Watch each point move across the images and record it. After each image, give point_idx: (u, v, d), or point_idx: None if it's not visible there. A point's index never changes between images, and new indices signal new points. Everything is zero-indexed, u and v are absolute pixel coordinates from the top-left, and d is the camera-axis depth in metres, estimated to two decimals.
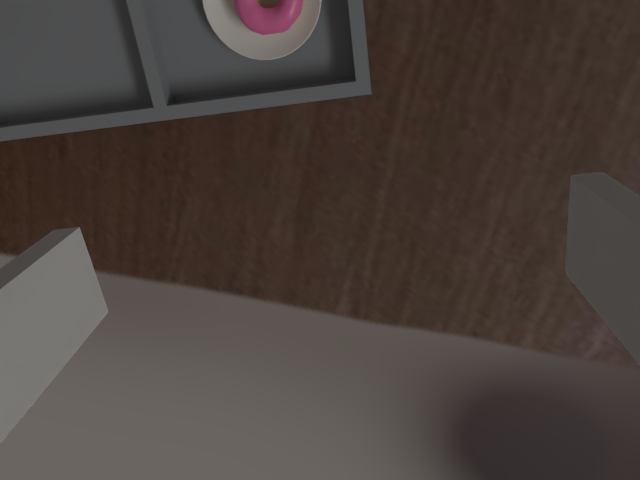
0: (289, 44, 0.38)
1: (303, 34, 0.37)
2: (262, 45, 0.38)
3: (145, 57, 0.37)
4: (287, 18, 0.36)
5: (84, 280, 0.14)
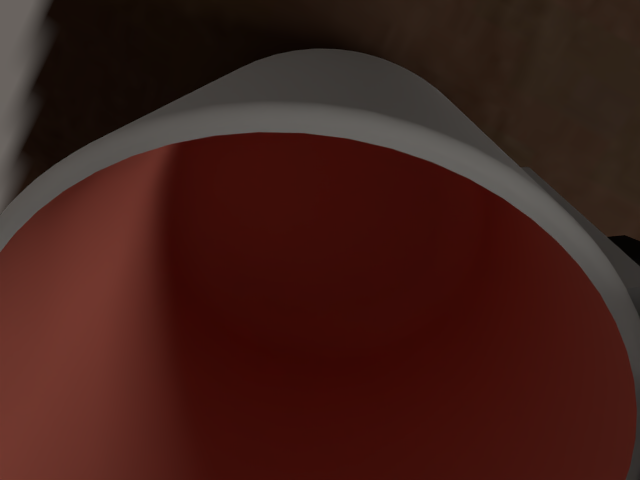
0: None
1: None
2: None
3: None
4: None
5: None
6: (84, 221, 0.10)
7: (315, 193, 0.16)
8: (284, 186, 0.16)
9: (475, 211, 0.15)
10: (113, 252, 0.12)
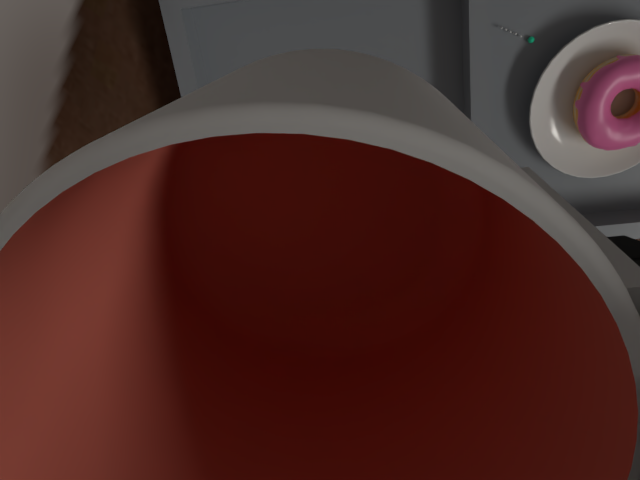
0: (628, 155, 0.29)
1: None
2: (592, 159, 0.29)
3: None
4: None
5: None
6: (83, 222, 0.10)
7: (315, 193, 0.16)
8: (284, 186, 0.16)
9: (475, 211, 0.15)
10: (112, 253, 0.12)
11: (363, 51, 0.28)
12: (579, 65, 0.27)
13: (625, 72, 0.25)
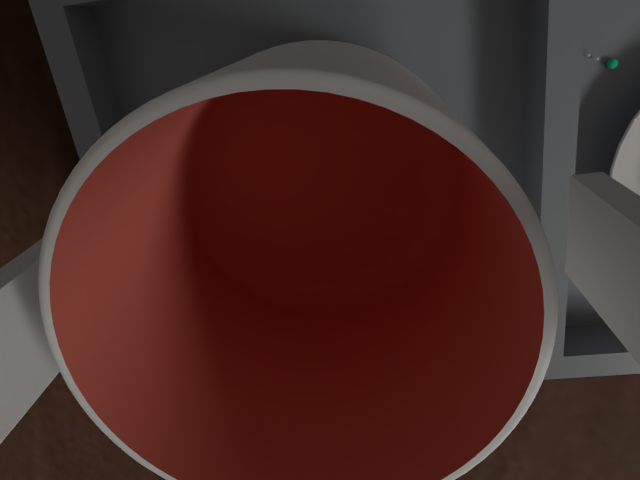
0: None
1: None
2: None
3: None
4: None
5: None
6: (129, 176, 0.12)
7: (313, 166, 0.19)
8: (286, 160, 0.19)
9: (450, 177, 0.18)
10: (146, 209, 0.15)
11: None
12: None
13: None
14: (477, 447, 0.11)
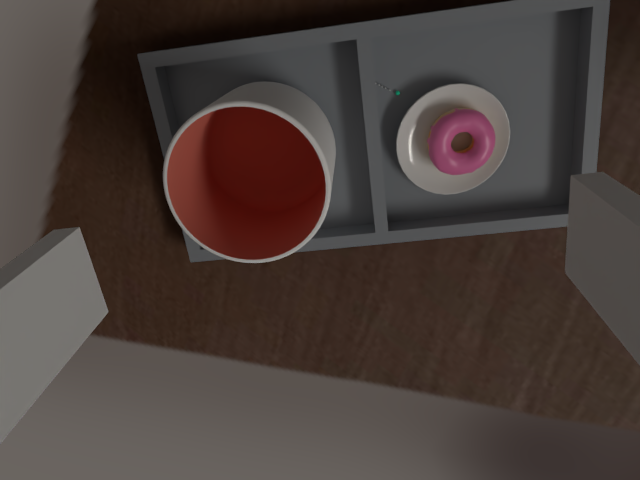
0: (472, 179, 0.40)
1: (487, 170, 0.39)
2: (446, 181, 0.40)
3: (375, 189, 0.38)
4: (480, 162, 0.37)
5: (84, 280, 0.14)
6: (188, 136, 0.33)
7: (266, 138, 0.39)
8: (253, 135, 0.39)
9: None
10: (191, 153, 0.35)
11: None
12: (431, 112, 0.37)
13: (457, 121, 0.36)
14: (312, 229, 0.31)
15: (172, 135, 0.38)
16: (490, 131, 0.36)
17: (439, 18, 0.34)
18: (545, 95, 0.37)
